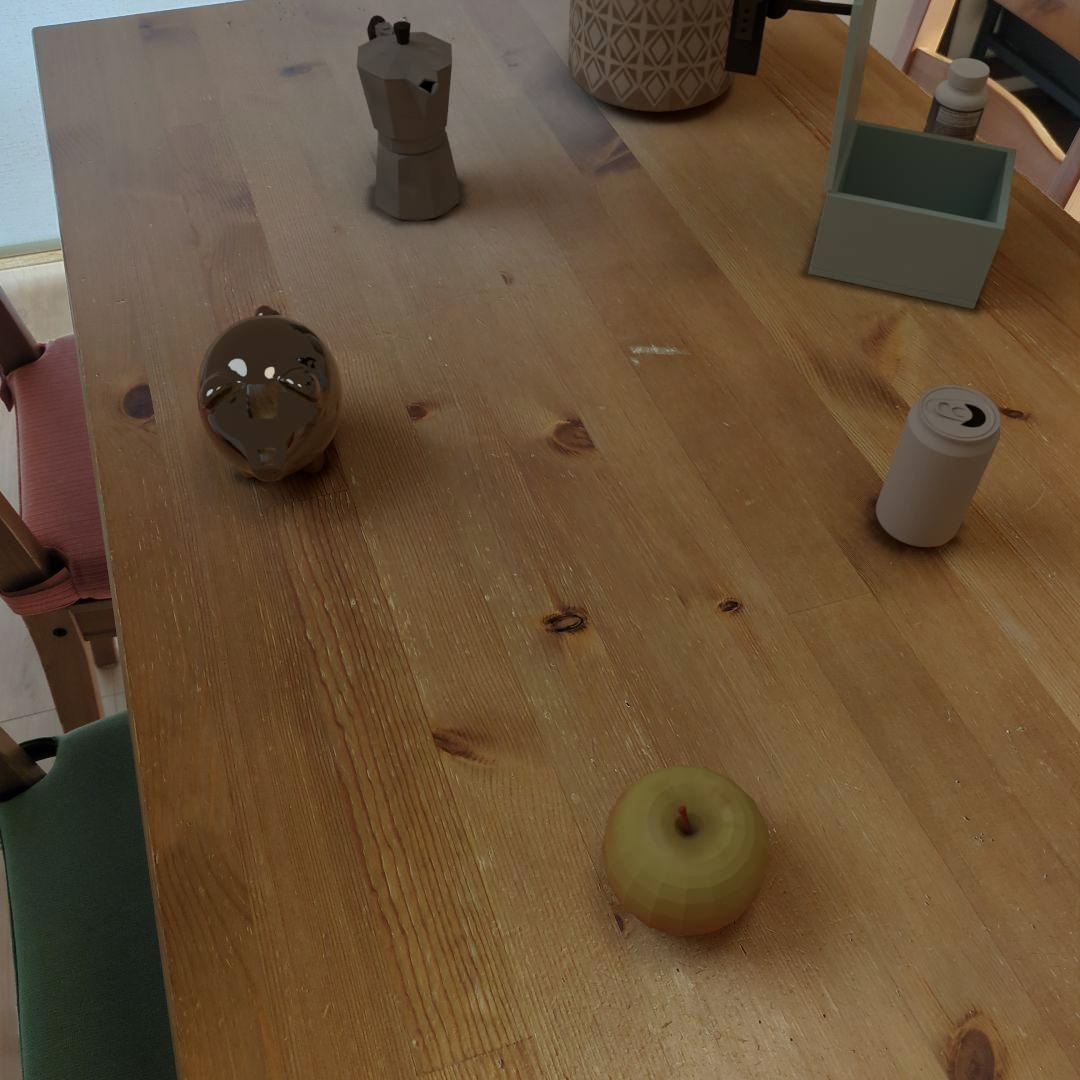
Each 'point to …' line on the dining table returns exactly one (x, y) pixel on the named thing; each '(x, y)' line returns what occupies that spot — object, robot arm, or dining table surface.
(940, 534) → the beverage can
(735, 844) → the apple
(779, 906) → the dining table surface
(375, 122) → the coffeepot
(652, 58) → the planter
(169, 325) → the dining table surface
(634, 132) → the dining table surface
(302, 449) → the piggy bank
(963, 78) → the pill bottle
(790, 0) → the lid
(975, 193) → the open box
